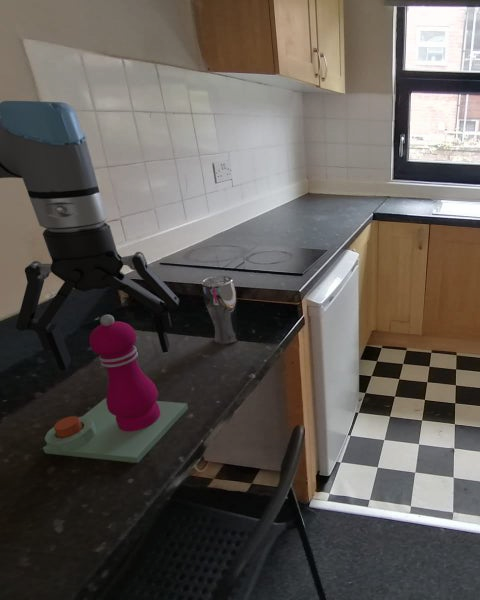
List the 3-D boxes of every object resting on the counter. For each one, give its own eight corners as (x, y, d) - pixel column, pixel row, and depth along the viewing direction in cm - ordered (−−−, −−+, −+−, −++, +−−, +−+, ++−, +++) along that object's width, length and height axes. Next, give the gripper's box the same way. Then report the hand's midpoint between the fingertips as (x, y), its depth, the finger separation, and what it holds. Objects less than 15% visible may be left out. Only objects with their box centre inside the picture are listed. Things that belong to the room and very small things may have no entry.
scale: (41, 456, 63) (34, 441, 62) (108, 401, 75) (104, 388, 74) (135, 466, 61) (130, 451, 60) (188, 408, 74) (185, 395, 72)
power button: (52, 437, 63) (48, 428, 62) (69, 423, 66) (66, 415, 65) (70, 439, 63) (66, 430, 62) (87, 425, 66) (84, 416, 65)
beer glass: (249, 335, 98) (240, 278, 92) (225, 348, 93) (213, 288, 87) (230, 329, 102) (220, 273, 96) (206, 340, 96) (193, 282, 90)
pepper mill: (143, 436, 65) (107, 328, 57) (104, 431, 66) (63, 324, 58) (172, 407, 72) (144, 306, 64) (136, 403, 73) (104, 303, 65)
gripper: (-61, 241, 48) (8, 387, 56) (175, 224, 57) (203, 353, 66) (-29, 226, 54) (28, 360, 63) (179, 213, 63) (203, 332, 72)
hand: (118, 356), depth 64 cm, fingers open, 13 cm apart
